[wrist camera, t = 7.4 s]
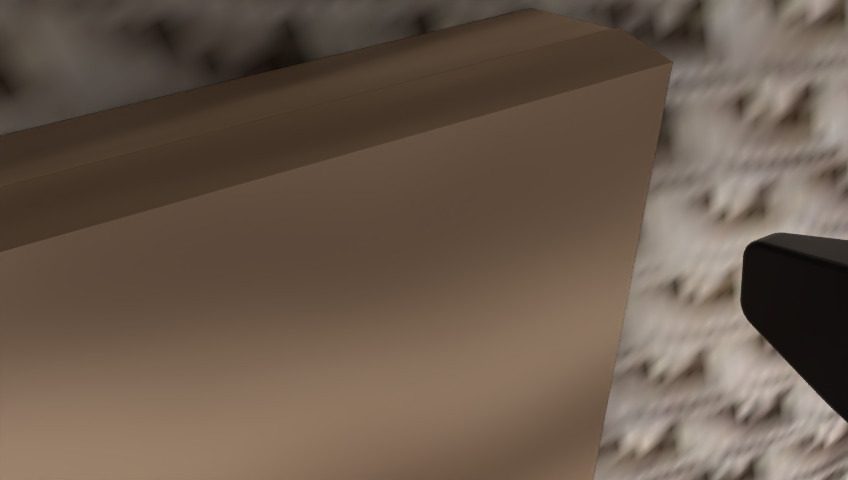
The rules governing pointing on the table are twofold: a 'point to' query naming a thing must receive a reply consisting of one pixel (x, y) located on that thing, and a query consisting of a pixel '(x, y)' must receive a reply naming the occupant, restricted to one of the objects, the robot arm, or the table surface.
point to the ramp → (334, 265)
